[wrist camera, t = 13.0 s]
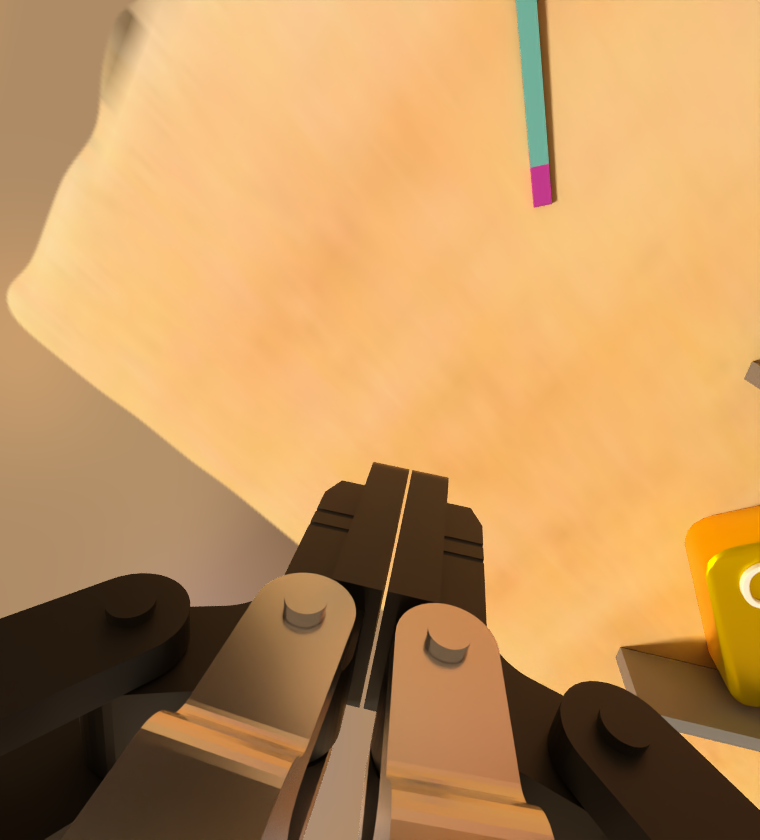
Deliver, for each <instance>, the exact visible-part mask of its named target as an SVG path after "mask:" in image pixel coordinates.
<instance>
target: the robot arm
mask: <svg viewBox="0 0 760 840" xmlns="http://www.w3.org/2000/svg"><path fill="white" fill-rule="evenodd" d="M408 474H409V469H404V468H399V467H395V466H390V465H385V464H381V463H376V462H374V463H373V465H372V467H371V470H370V473H369V476H368V479H367V481H366V484H365V485H360V484H356V483H351V482H346V481H341V482H339V483H338V484H336V485H335V486H333V487H332V488H330V489H329V490H327V491H326V492H325V493H324V495H323V497H322V499H321V501H320V504H319V506H318V508H317V511H316V512H315V514H314V516H313V518H312V520H311V523H310V525H309V526H308V528H307V530H306V532H305V534H304V536H303V538H302V540H301V542H300V544H299V546H298V548H297V551H296V553H295V555H294V557H293V559H292V561H291V563H290V565H289V567H288V569H287V571H286V573H285V575H284V576H281V577H278V578H276V579H274V580H272V581H271V582H269V583H267V584H266V585H265V586H264V587H262V588H261V590H260V591H259V592H258V594H257V595H256V596H255V598H254V599H253V601H251V602H248V603H244V604H239V605H231V606H205V607H190V599H189V596H188V594H187V592H186V590H185V589H184V588H183V587H182V586H181V585H180V584H179V583H177V582H176V581H175V580H172V579H170V578H168V577H165V576H162V575H156V574H145V573H140V574H130V575H125V576H120V577H117V578H114V579H111V580H108V581H105V582H102V583H99V584H96V585H94V586H91V587H88V588H85V589H82V590H79V591H77V592H74V593H72V594H68V595H66V596H63V597H60V598H57V599H54V600H52V601H49V602H46V603H43V604H40V605H37V606H34V607H32V608H29V609H26V610H23V611H20V612H18V613H15V614H12V615H9V616H7V617H4V618H1V619H0V840H303V838H304V835H305V831H306V829H307V826H308V823H309V820H310V817H311V813H312V811H313V808H314V805H315V801H316V798H317V796H318V792H319V789H320V786H321V783H322V780H323V777H324V774H325V771H326V768H327V765H328V762H329V759H330V756H331V751H332V746H333V744H334V743H335V741H336V739H337V737H338V735H339V731H340V728H341V724H342V720H343V715H344V711H345V707H346V704H347V705H351V706H355V707H360V702H361V697H362V693H363V688H364V683H365V678H366V674H367V669H368V665H369V660H370V655H371V651H372V646H373V641H374V636H375V632H376V627H377V622H378V618H379V613H380V609H381V604H382V599H383V595H384V590H385V585H386V581H387V576H388V571H389V567H390V562H391V557H392V552H393V547H394V543H395V538H396V533H397V528H398V523H399V518H400V513H401V508H402V503H403V498H404V493H405V488H406V484H407V479H408ZM447 495H448V478H447V477H442V476H438V475H433V474H428V473H424V472H419V471H414V470H412V475H411V480H410V485H409V490H408V495H407V500H406V504H405V509H404V514H403V519H402V524H401V529H400V534H399V538H398V543H397V548H396V553H395V558H394V563H393V568H392V572H391V577H390V582H389V587H388V592H387V597H386V602H385V607H384V611H383V616H382V621H381V626H380V631H379V636H378V641H377V646H376V650H375V656H374V660H373V665H372V670H371V675H370V680H369V684H368V689H367V694H366V699H365V704H364V709H368V710H372V711H376V718H375V723H374V729H373V734H372V740H371V744H370V748H369V753H368V757H367V762H366V768H365V778H364V788H363V797H362V807H361V817H360V826H359V836H358V840H760V810H759V809H758V808H757V807H756V806H755V805H754V804H753V803H752V802H751V801H750V800H749V799H747V798H746V797H745V796H744V795H743V794H742V793H741V792H740V791H739V790H738V789H737V788H736V787H735V786H734V785H733V784H732V783H731V782H730V781H729V780H728V779H727V778H726V777H725V776H723V775H722V774H721V773H720V772H719V771H718V770H717V769H716V768H715V767H714V766H713V765H712V764H711V763H710V762H709V761H708V760H707V759H706V758H705V757H704V756H703V755H702V754H701V753H699V752H698V751H697V750H696V749H695V748H694V747H693V746H692V745H691V744H690V743H689V742H688V741H687V740H686V739H685V738H684V737H683V736H682V735H681V734H680V733H679V732H678V731H677V730H675V729H674V728H673V727H672V726H671V725H670V724H669V723H668V722H667V721H666V720H665V719H664V718H663V717H662V716H661V715H660V714H659V713H658V712H657V711H656V710H654V709H653V708H652V707H651V706H650V705H649V704H647V703H646V702H645V701H643V700H642V699H640V698H639V697H638V696H636V695H634V694H632V693H631V692H629V691H627V690H625V689H623V688H620V687H618V686H615V685H612V684H609V683H604V682H598V681H587V682H581V683H578V684H575V685H574V686H572V687H571V688H569V689H568V691H567V692H566V693H565V694H564V696H563V695H561V694H559V693H557V692H555V691H553V690H551V689H549V688H547V687H545V686H544V685H542V684H540V683H538V682H536V681H534V680H532V679H530V678H529V677H527V676H525V675H523V674H522V673H520V672H519V671H518V670H516V669H515V668H514V667H513V666H511V665H510V664H509V663H508V662H507V661H506V660H505V659H504V658H503V657H502V656H501V655H500V653H499V648H498V644H497V642H496V640H495V638H494V636H493V634H492V633H491V631H490V630H489V629H488V628H487V624H486V602H485V579H484V563H483V560H484V556H483V548H482V547H483V533H482V525H481V523H480V522H479V520H478V519H477V517H476V516H475V514H474V513H473V511H472V509H471V508H467V507H463V506H458V505H454V504H449V503H447Z"/></svg>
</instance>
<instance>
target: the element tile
mask: <svg viewBox="0 0 760 840" xmlns="http://www.w3.org/2000/svg"><path fill="white" fill-rule="evenodd" d="M685 547H686V552H687V556H688V561H689V565H690V570H691V574H692V579H693V583H694V588H695V592H696V597H697V601H698V606H699V610H700V615H701V619H702V624H703V628H704V633H705V637H706V642H707V646H708V651H709V653H710V656H711V658H712V659H713V661H714V663H715V665H716V667H717V669H718V671H719V673H720V675H721V676H722V678H723V680H724V682H725V684H726V686H727V688H728V690H729V692H730V694H731V695H732V696H733V697H734V698H735V699H736V700H737V701H738V702H740V703H742V704H744V705H747V706H754V707H760V505H759V506H755V507H750V508H745V509H740V510H736V511H731V512H726V513H722V514H717V515H712V516H709V517H706V518H703V519H702V520H700V521H698V522H696V523H695V524H693V525H692V527H691V528H690V529H689V530H688V532H687V535H686V538H685Z"/></svg>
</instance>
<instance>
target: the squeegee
mask: <svg viewBox="0 0 760 840" xmlns="http://www.w3.org/2000/svg"><path fill="white" fill-rule="evenodd" d="M516 8H517V19H518V31H519V42H520V54H521V65H522V77H523V88H524V99H525V111H526V122H527V134H528V145H529V159H530V171H531V182H532V193H533V204H534V207H539V206H544V205H549V204H552V198H551V185H550V172H549V158H548V145H547V131H546V118H545V105H544V91H543V78H542V65H541V51H540V38H539V25H538V11H537V0H516ZM545 164H546V165H545Z"/></svg>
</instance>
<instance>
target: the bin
mask: <svg viewBox="0 0 760 840" xmlns="http://www.w3.org/2000/svg"><path fill="white" fill-rule="evenodd" d="M744 379H745V380H747V381H748V382H750V383H751V384H753V385H754V386H756V387H757V388H759V389H760V363H757V362H752V363H751V365H750V368H749V370H748V372H747V374H746V376H745V378H744ZM616 660H617V663H618V666H619V669H620V673H621V676H622V679H623V682H624V685H625V688H626V690H627V691H629V692H631V693H632V694H634V695H636V696H638V697H639V698H640V699H642V700H643V701H645V702H646V703H647V704H649V705H650V706H651V707H652V708H653V709H654V710H656V711H657V712H658V713H659V714H660V715H661V716H662V717H663V718H664V719H665V720H666V721H667V722H668V723H669V724H670V725H671V726H672V727H673V728H674V729H675V730H677V731H678V732H680V733H685V734H689V735H693V736H697V737H701V738H705V739H709V740H713V741H718V742H722V743H726V744H730V745H734V746H738V747H742V748H746V749H751V750H755V751H759V752H760V707H754V706H747V705H744V704H742V703H740V702H738V701H737V700H736V699H735V698H734V697H733V696H732V695H731V694H730V692H729V690H728V688H727V686H726V684H725V682H724V680H723V678H722V676H721V675H720V673H719V671H718V670H716V669H712V668H707V667H703V666H699V665H694V664H690V663H686V662H682V661H677V660H673V659H669V658H664V657H660V656H656V655H651V654H647V653H643V652H638V651H634V650H630V649H626V648H621V647H620V650H619V652H618V654H617V656H616Z"/></svg>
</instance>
